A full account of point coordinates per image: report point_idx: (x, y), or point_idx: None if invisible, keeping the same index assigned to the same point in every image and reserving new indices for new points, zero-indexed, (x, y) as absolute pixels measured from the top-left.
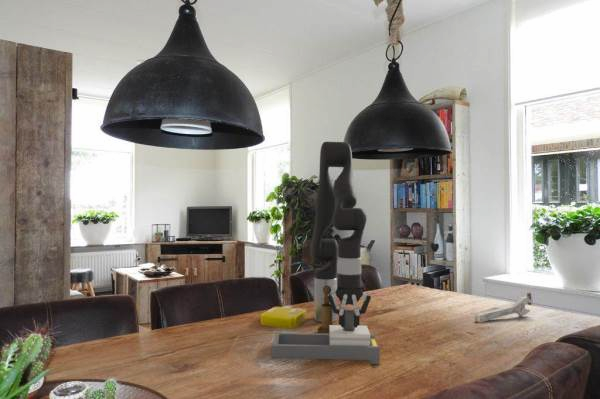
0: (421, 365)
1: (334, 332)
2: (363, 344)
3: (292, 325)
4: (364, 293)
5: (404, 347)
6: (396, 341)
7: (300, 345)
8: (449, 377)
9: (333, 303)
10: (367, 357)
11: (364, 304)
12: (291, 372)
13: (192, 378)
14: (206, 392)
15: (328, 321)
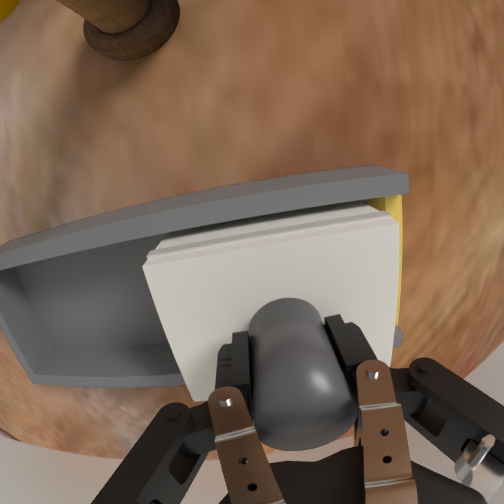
0: (478, 283)
1: (209, 386)
2: None
3: (3, 11)
4: (492, 494)
5: (471, 125)
6: (448, 57)
7: (98, 383)
8: (495, 332)
9: (172, 502)
10: None
11: (441, 448)
12: (127, 401)
13: (9, 412)
14: (58, 449)
15: (116, 12)
